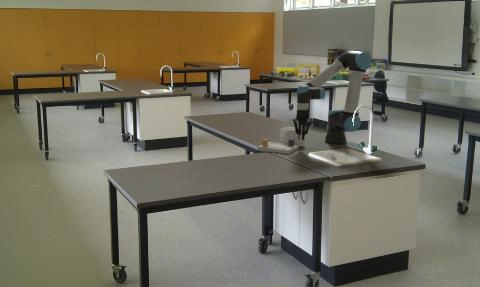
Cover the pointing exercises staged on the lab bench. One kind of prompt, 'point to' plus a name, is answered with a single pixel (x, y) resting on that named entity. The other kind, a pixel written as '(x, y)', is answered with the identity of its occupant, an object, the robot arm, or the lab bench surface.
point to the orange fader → (265, 142)
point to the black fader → (291, 142)
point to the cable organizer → (289, 135)
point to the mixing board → (278, 147)
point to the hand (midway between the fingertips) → (301, 144)
